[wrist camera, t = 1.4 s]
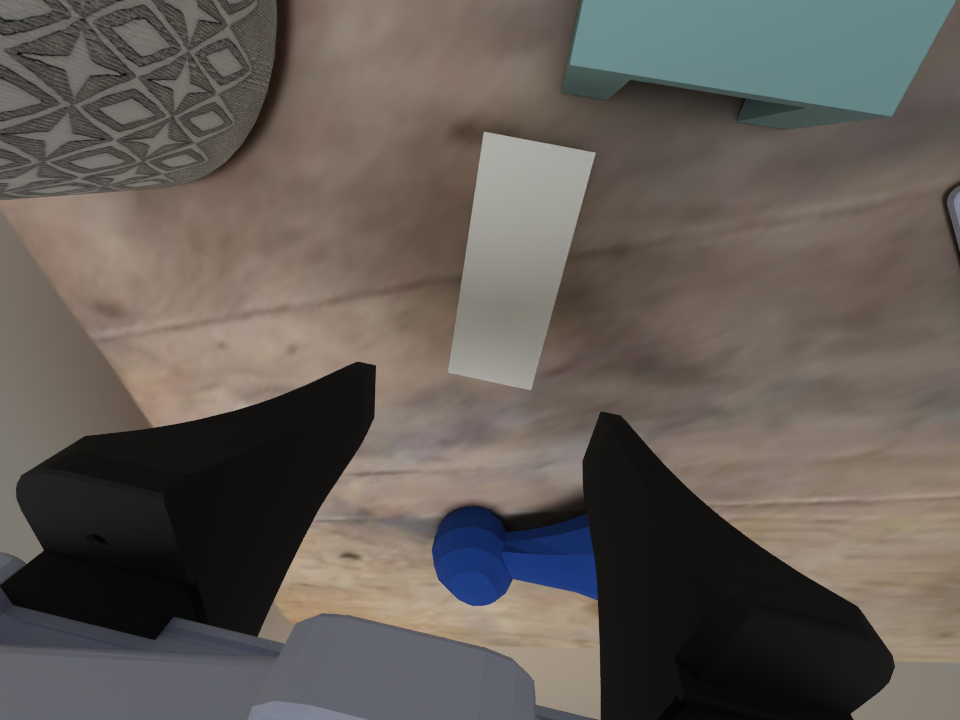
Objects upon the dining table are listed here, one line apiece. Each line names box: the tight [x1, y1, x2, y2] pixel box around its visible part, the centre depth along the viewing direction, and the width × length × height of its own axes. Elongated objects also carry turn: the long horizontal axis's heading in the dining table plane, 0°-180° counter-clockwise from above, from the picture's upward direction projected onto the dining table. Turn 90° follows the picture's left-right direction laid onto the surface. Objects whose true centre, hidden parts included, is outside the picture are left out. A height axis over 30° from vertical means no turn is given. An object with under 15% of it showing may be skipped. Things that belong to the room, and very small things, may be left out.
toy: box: [432, 507, 598, 606], centre depth 25 cm, size 7×6×15 cm
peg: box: [448, 132, 596, 390], centre depth 18 cm, size 10×4×4 cm, turn 170°
